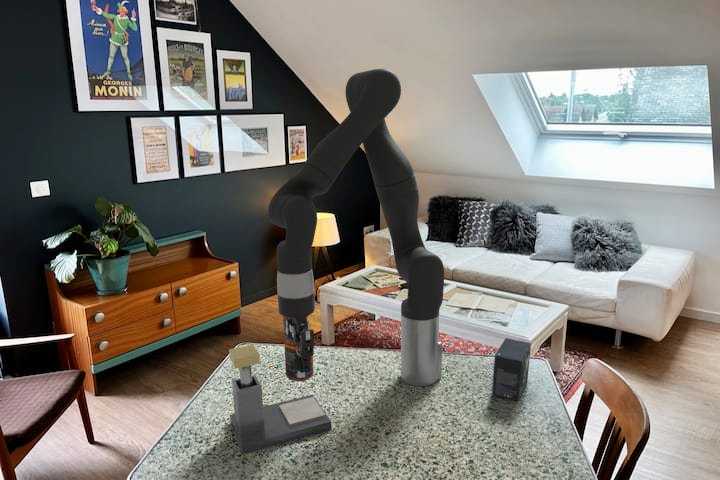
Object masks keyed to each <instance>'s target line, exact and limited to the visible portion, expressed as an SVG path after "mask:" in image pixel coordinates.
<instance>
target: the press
mask: <svg viewBox="0 0 720 480" xmlns="http://www.w3.org/2000/svg"><path fill="white" fill-rule="evenodd" d="M252 383H253V386H252V387H248V388H243V389H241V383H240V378H235V379H232V380H231V386H232V387H231V388H232V398H233V409H234V413H233V414H229V419H230V425H231V428H232V431H233V433H234V435H235V438H236V440H237V443H238V445H239V448H240V451H241V453H242V455H246V454H250V453H253V452H256V451H260V450H263V449H267V448H271V447H274V446H277V445H281V444H285V443H289V442H293V441H296V440H298V439H299V440H301V439H302V438H306V437H310V436H314V435H318V434H321V433H324V432H328V431H332V420H331V419H330V417H329V416H328V415H327V413H326V412H325V410H324V409H323V408H322V406H321V405H320V403H319V402H318V400H317V399H316V397H315V396H314V394H310V395H305V396H300V397H296V398H293V399H289V400H285V401H281V402H277V403H273V404H269V405H265V406H264V403H263V400H264V399H263V390H262V389H263V387H262V384H261V382H260V380H259V379H258V377H257V375H256V374H254V375H253V374H252Z"/></svg>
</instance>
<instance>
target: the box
mask: <svg viewBox="0 0 720 480" xmlns="http://www.w3.org/2000/svg"><path fill="white" fill-rule="evenodd" d="M531 347H532V343H531V342H526V341H521V340H517V339H512V338H507V337H505V339H504V341H503V342H502V343H501V345H500V346H499V348H498V349H497V351H496V352H495V354H494V359H493V361H494V362H493V371H492V372H493V373H492V384H491V395H492V396H496V397H500V398H504V399H508V400H513V401H516V402H517V401H519V400H520V398H521V396H522V394H523V391H524V389H525V387H526V385H527V383H528V380H529V379H528V378H529V368H530V360H531V359H530V358H531V349H532V348H531Z"/></svg>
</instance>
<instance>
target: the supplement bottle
mask: <svg viewBox="0 0 720 480" xmlns="http://www.w3.org/2000/svg"><path fill="white" fill-rule="evenodd" d="M288 333H289V334H288V335H287V336H286V337H285V336H284V342H283V343H284V345H283V346H284V361H285V362H284V363H285V365H284V366H285V376H286V378H287V379H288V380H290V381H294V382H304V381H308V380H309V379H311V378H312V377H313V376H314V355H313V356H309V358H310V370H309V371H308V372H304V373H301V372H300V371H299V363H298V352H297V346H295V345H294V343H293V337H292V333H291V331H290V326H289V328H288ZM297 341H300V339H297ZM304 350H306V348H305V349H304Z"/></svg>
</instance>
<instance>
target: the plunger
mask: <svg viewBox="0 0 720 480" xmlns="http://www.w3.org/2000/svg"><path fill="white" fill-rule="evenodd" d="M228 353H229V360H230V361H231V363H232V366H233V368H234V369H235V370H237V369H239V379H240V383H241V389H243V388H248V387H252V386H253V383H252V376H253V374H252V372H253V371H252V366H255V365H258V364H261V363H260V362H261V359H260V353H259V351H258V350H257V349H256V346H255V344H250V345H245V346H240V347H235V348H231V349H228Z"/></svg>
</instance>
